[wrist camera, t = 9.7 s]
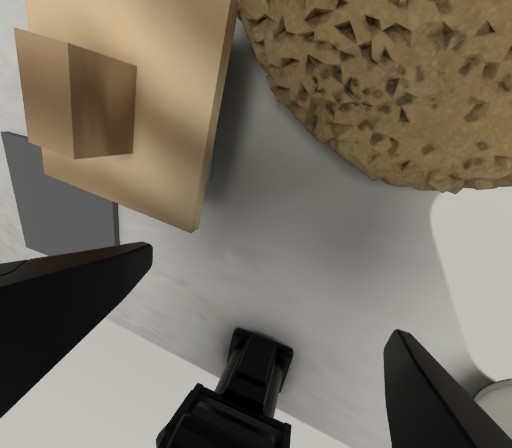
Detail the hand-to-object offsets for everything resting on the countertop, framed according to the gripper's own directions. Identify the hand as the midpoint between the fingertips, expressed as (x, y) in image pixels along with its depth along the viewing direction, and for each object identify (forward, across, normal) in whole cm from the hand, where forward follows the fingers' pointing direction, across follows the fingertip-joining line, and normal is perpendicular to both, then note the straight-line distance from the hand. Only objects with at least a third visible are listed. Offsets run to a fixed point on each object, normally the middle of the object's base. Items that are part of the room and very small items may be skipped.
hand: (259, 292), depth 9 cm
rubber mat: (+12, +25, +8) cm, 29 cm away
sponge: (+12, -2, -11) cm, 17 cm away
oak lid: (+8, +12, -5) cm, 15 cm away
